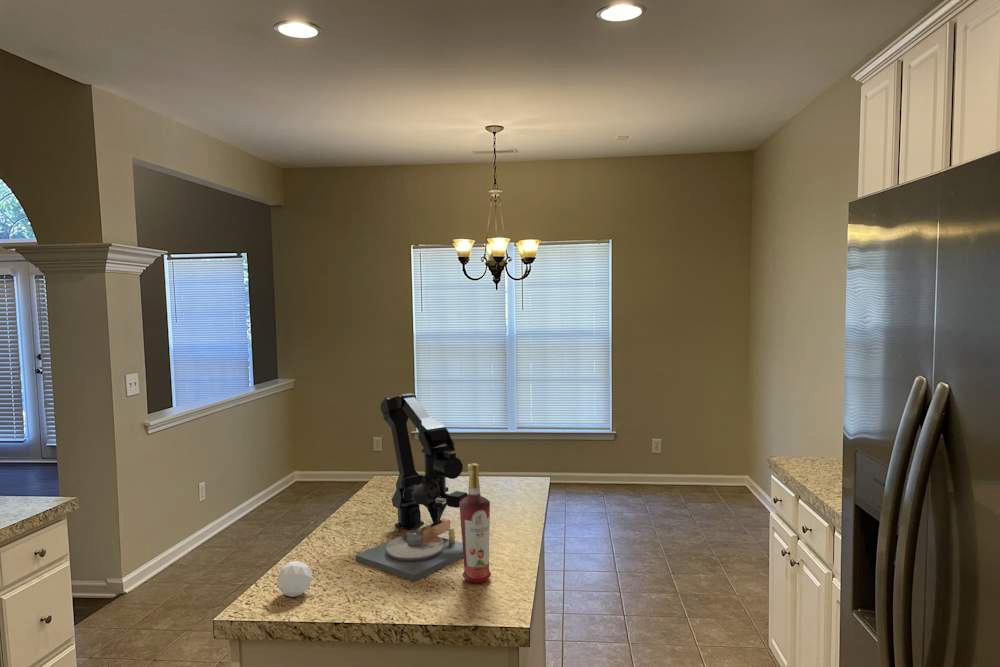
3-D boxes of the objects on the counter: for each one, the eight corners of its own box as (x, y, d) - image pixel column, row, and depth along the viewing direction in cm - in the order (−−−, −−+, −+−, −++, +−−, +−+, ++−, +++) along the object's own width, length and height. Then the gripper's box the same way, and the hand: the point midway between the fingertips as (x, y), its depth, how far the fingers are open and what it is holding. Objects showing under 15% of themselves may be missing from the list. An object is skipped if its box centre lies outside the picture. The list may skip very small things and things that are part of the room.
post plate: (355, 560, 169) (354, 540, 169) (416, 535, 186) (415, 516, 186) (414, 581, 155) (414, 558, 155) (474, 551, 173) (473, 531, 172)
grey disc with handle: (415, 565, 160) (415, 547, 160) (374, 553, 169) (373, 536, 169) (468, 540, 177) (467, 523, 176) (428, 529, 186) (427, 514, 185)
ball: (304, 605, 150) (319, 582, 148) (271, 602, 146) (285, 578, 143) (302, 578, 156) (316, 556, 154) (270, 575, 152) (283, 551, 149)
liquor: (468, 589, 150) (464, 470, 149) (457, 577, 157) (453, 463, 156) (496, 582, 153) (493, 466, 152) (485, 571, 160) (481, 459, 158)
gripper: (390, 473, 177) (391, 529, 178) (447, 482, 168) (448, 541, 169) (414, 464, 187) (415, 517, 188) (469, 472, 178) (470, 527, 179)
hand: (436, 526), depth 180 cm, fingers closed
